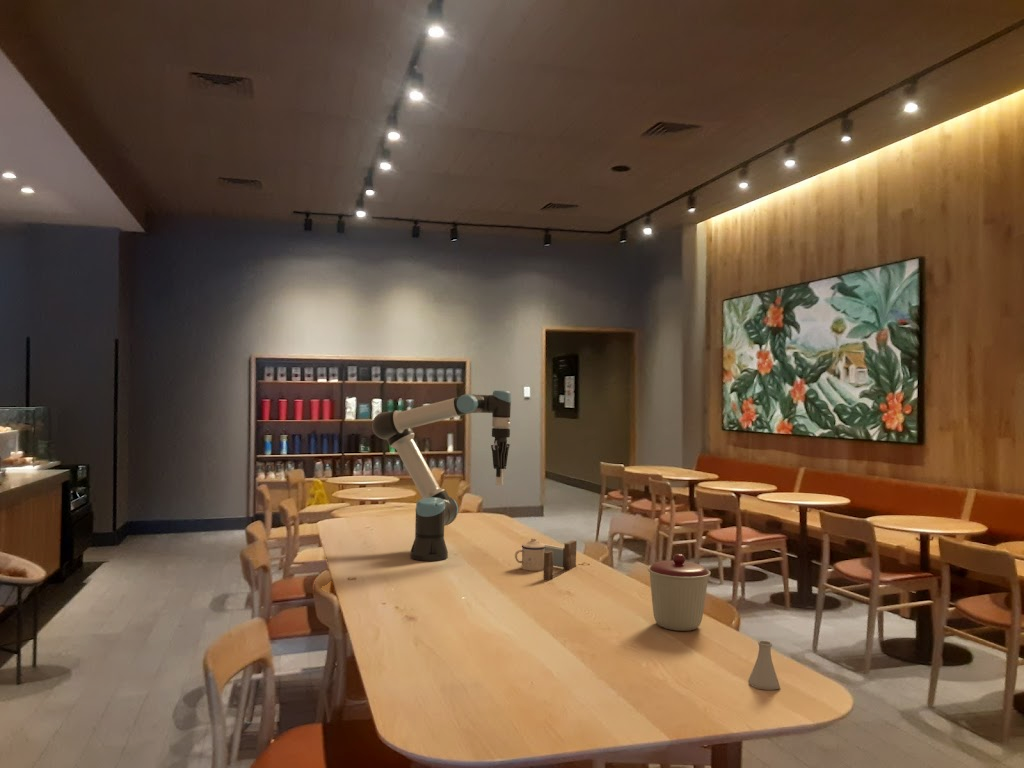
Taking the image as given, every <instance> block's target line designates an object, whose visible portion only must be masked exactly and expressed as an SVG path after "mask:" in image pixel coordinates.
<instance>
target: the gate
mask: <svg viewBox="0 0 1024 768" xmlns="http://www.w3.org/2000/svg"><path fill="white" fill-rule="evenodd" d="M543 544H544V545H545V552H547V551H553V567H558V568H563V569H564V547H563V546H558V545H552V544H546V543H543Z"/></svg>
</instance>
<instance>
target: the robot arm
mask: <svg viewBox="0 0 1024 768" xmlns="http://www.w3.org/2000/svg"><path fill="white" fill-rule="evenodd" d="M511 395H512V394H511V392H510V391H509V390H493V392H492V394H474V393H473V394H471V393H465V394H463V395H460V396H457V397H453V398H449V399H445V400H440V401H438V402H433V403H430V404H427V405H422V406H417V407H413V408H411V409H406V410H403V411H399V410H397V409H396V410H392V411H383V412H380V413H378V414H377V415H376V416H375V417H374V418H373V420H372V424H371V428H372V432H373V433H374V435H375V436H376V437H378V438H379V439H382V440H386V441H387V443H388V445H389V447H390V448H392V449H395V450H396V452H397V454H398V456H399V458H400V459H401V461H402V463H403V464H404V467H405V468H406V470H407V472H408V474H409V475H410V477H411V480H412V481H413V483H414V486H415V487H416V489H417V491H418V493H419V494H420V496H421V498H420V499H419V500H417V502H416V506H415V523H414V524H415V526H414V528H415V530H414V532H415V534H414V540H413V544H412V546H411V549H410V552H409V557H410V559H412V560H416V561H423V562H434V561H435V562H437V561H442V560H443V561H444V560H447V559H448V556H449V554H448V553H449V552H448V547H447V544H446V541H445V526H448V525H451V524H452V523H453V522H454V521H455V520H456V518H457V516H458V513H459V506H458V503H457V502H456V500H455V499H454V498H453V497H451V496H449V494H448V492H447V490H446V489H444V488H441V487H440V485H439V483H438V481H437V479H436V478H435V475H434V474H433V472H432V471H431V468H430V467H429V465H428V463H427V462H426V459H425V458H424V456H423V454H422V452H421V450H420V448H419V447H418V445H417V443H416V442H415V441H416V440H415V432H414V430H413V428H417V427H421V426H424V425H428V424H429V425H430V424H432V423H433V424H434V423H435V422H436V423H437V422H440V421H443V420H448V419H451V418H452V419H453V418H455V417H460V416H465V415H469V414H476V413H477V414H480V413H481V414H485V413H486V414H491V417H492V418H491V426H492V428H491V437H493V438H494V441H493V443H494V444H490V448H491V454H492V465H493V469H494V470H495V485H498V486H504V470H506V469H507V465H508V456H509V450H510V446H511V444H510V443H508V440H507V438H510V436H511V429H510V427H511V422H512V420H511V408H512V406H511V404H512V401H511V399H512V398H511Z"/></svg>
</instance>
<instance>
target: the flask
mask: <svg viewBox="0 0 1024 768" xmlns="http://www.w3.org/2000/svg"><path fill="white" fill-rule="evenodd" d="M757 644H758V645H757V646H758V652H757V657H756V659H755V663H754V665H753V668H752V670H751V673H750V674H749V677H748V685H750V686H752V687H754V688H755V689H758V690H766V691H773V690H778V689H779V690H780V689H781V686H780V683H779V680H778V677H777V673H776V670H775V667H774V663H773V658H772V654H771V653H772V652H771V651H772V647H773V643H772V642H771V641H769V640H764V639H763V640H758V641H757Z"/></svg>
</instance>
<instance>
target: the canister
mask: <svg viewBox="0 0 1024 768" xmlns="http://www.w3.org/2000/svg"><path fill="white" fill-rule="evenodd" d="M647 571H648V572H649V580H650V593H651V594H650V595H651V604H652V613H653V618H654V621H655V623H656V624H657V625H658V626H659V627H661V628H663V629H667V630H671V631H679V632H681V631H682V632H687V631H689V632H690V631H692V630H696V629H698V628H699V627H700V626H701V624H702V621H703V617H704V616H703V615H704V609H705V604H706V596H707V589H708V580H709V577H710V576H711V571H710V570H709V569H707V568H706V567H705V566H704V565H701V564H699V563H694V562H691V561H686V557H685V555H684V554H682V553H675V554H674V555H673V557H672V560H660V561H657V562H653V563H652V564H651V565H649V566H648V567H647Z"/></svg>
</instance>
